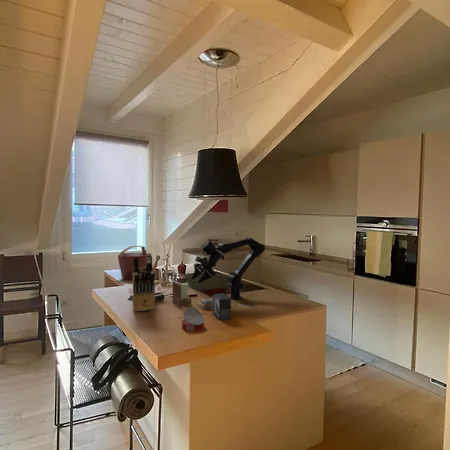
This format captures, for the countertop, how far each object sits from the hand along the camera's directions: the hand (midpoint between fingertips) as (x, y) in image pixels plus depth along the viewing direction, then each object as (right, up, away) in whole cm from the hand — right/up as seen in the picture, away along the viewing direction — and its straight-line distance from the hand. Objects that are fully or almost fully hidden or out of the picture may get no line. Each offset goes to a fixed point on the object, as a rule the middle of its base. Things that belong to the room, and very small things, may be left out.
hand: (194, 281), depth 187 cm
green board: (-6, -12, -3) cm, 14 cm away
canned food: (+3, -15, -38) cm, 41 cm away
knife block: (-27, -13, -7) cm, 31 cm away
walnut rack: (-6, -13, -3) cm, 15 cm away
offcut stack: (+7, -13, -10) cm, 18 cm away
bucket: (-53, -10, +70) cm, 88 cm away
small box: (+15, -14, -22) cm, 30 cm away
